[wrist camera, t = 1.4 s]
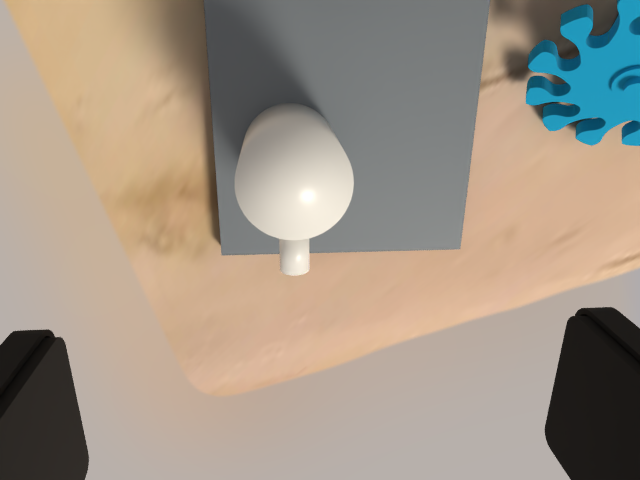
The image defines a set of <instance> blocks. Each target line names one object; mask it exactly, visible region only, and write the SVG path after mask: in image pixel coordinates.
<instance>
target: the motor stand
mask: <svg viewBox="0 0 640 480" xmlns="http://www.w3.org/2000/svg"><path fill="white" fill-rule="evenodd" d="M489 6H490V0H204V11H205V26H206V40H207V54H208V68H209V82H210V97H211V111H212V125H213V139H214V153H215V168H216V182H217V196H218V210H219V224H220V239H221V253H222V255H255V254H280V251H279V238H275V237H272V236H270V235H268V234H266V233H264V232H262V231H260V230H259V229H258V228H256V227H255V226H254V225H253V224H252V223H251V222H250V221H249V220H248V219H247V218H246V216H245V215H244V213H243V212H242V210H241V208H240V206H239V204H238V201H237V198H236V194H235V173H236V168H237V164H238V160H239V157H240V153H241V149H242V145H243V141H244V138H245V134H246V132H247V129H248V127H249V126H250V124H251V122H252V121H253V120H254V119H255V118H256V117H257V116H258V115H259V114H260V113H261V112H263V111H264V110H266V109H268V108H270V107H272V106H275V105H278V104H283V103H296V104H301V105H304V106H307V107H310V108H312V109H314V110H315V111H317V112H318V113H319V114H320V115H322V116H323V117H324V118H325V120H326V121H327V122H328V124H329V125H330V127H331V128H332V130H333V132H334V134H335V135H336V137H337V139H338V141H339V143H340V144H341V146H342V148H343V150H344V151H345V153H346V155H347V157H348V159H349V161H350V164H351V167H352V171H353V177H354V187H353V194H352V198H351V201H350V204H349V206H348V208H347V210H346V212H345V213H344V215H343V216H342V217H341V219H340V220H339V221H338V222H337V223H336V224H335V225H334V226H333V227H331V228H330V229H329V230H327V231H326V232H324V233H322V234H320V235H318V236H315V237H312V238H309V253H333V252H372V251H410V250H449V249H460V246H461V238H462V230H463V222H464V213H465V205H466V197H467V188H468V180H469V172H470V163H471V155H472V147H473V139H474V130H475V122H476V114H477V105H478V97H479V89H480V81H481V72H482V64H483V56H484V47H485V39H486V31H487V22H488V14H489Z"/></svg>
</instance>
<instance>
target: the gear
mask: <svg viewBox="0 0 640 480" xmlns="http://www.w3.org/2000/svg"><path fill="white" fill-rule="evenodd" d="M617 10H618V12H619V14H618V17H617V19H616V21H615V22H614V24H613V25H612V27H611V28H610V30H609V31H608V32H607V33H605V34H603V35H600V36H592V35H590V34H589V33H590V32H591V30H592V28H593V9H592V7H591V6H590V5H588V4H585V5H581V6H578V7H575V8H573V9H570V10H568V11H567V12H565V13H563V14H561V24H560V32H561V34H562V36H563V37H565V38H567V39H569V40H570V41H572V42H573V43H574V44H575V45H576V46H577V48H578V50H579V52H580V54H579V55H578V56H577V57H575V58H573V59H563V58H561V57H560V56H559V55H558V51H557V46H556V44H555V43H554V42H552V41H550V40H543V41H541V42H540V43H539V44H537V45H536V46H535V47H534V48H533V50H532V51H531V52H530V54H529V58H528V68H529V69H530V70H531V71H534V72H538V73H549V74H553V75H556V76H558V77H560V78H562V79H563V80H564V81H566V82H567V83H564V84H559V85H558V84H553V83H552V82H550V81H549V80H548V79H547V78H545V77H543V76H532V77H530V79H529V80H528V83H527V92H526V104H529V105H540V104H543V103H548V102H566V103H571V104H574V105H569V106H567V105H562V104H549V105H546V106H545V107H543V123H544V125H545V126H546V128H547V129H548V130H549V131H556V130H559V129H561V128H563V127H564V126H566V125H567V124H569V123H572V122H574V121H577V120H581V119H587V118H595V117H598V118H595V119H587V120H583V121H581V122H579V123H578V124H577V126H576V139H577V140H579V141H581V142H583V143H585V144H588V145H595V144H597V143H599V142H600V141H601V139H602V137H603V136H604V134H605V133H606V132H607V131H608V130H610V129H611V128H613V127H615V126H617V125H619V124H621V123H623V122H626V121H630V120H634V121H631V122H629V123H627V124H625V125H624V126H623V128H622V144H625V145H633V146H640V0H617Z"/></svg>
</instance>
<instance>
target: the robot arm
mask: <svg viewBox="0 0 640 480" xmlns="http://www.w3.org/2000/svg"><path fill="white" fill-rule="evenodd" d="M545 436H546V440H547V443H548V445H549V447H550V449H551V451H552V452H553V454H554V455H555V457H556V458H557V460H558V461H559V463H560V464H561V465H562V467H563V469H564V470H565V471H566V473H567V475H568V476H569V477H570V479H571V480H640V328H638V327H637V326H636V325H635V324H634V323H632V322H631V321H630V320H629V319H627V318H626V317H625V316H624V315H623V314H621V313H620V312H619V311H617V310H616V309H614V308H612V307H603V308H581V309H580V310H578V311H577V313H576V314H575V316H572V317H570V318H569V320H568V322H567V325H566V330H565V335H564V339H563V344H562V348H561V354H560V358H559V363H558V368H557V373H556V377H555V382H554V387H553V392H552V396H551V401H550V406H549V411H548V416H547V420H546V425H545ZM88 462H89V456H88V450H87V445H86V440H85V435H84V431H83V426H82V421H81V416H80V411H79V407H78V402H77V397H76V393H75V388H74V383H73V378H72V373H71V368H70V364H69V359H68V354H67V349H66V345H65V342H64V340H63V339H62V338H61V337H55V336H54V334H53V332H52V331H50V330H25V331H13V332H12V333H11V334H10V335H9V336H8V337H7V338H6V339H5V341H4V342H3V343H2V344H1V345H0V480H85V477H86V474H87V470H88Z"/></svg>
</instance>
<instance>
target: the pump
mask: <svg viewBox="0 0 640 480" xmlns="http://www.w3.org/2000/svg"><path fill="white" fill-rule="evenodd" d="M353 187H354V177H353V171H352V167H351V164H350V161H349V159H348V157H347V155H346V153H345V151H344V150H343V148H342V146H341V144H340V143H339V141H338V139H337V137H336V135H335V134H334V132H333V130H332V128H331V127H330V125H329V124H328V122H327V121H326V120H325V118H324V117H323V116H322V115H320V114H319V113H318V112H317V111H315V110H314V109H312V108H310V107H307V106H304V105H301V104H296V103H283V104H278V105H275V106H272V107H270V108H268V109H266V110H264V111H263V112H261V113H260V114H259V115H258V116H257V117H256V118H255V119H254V120H253V121H252V122H251V124H250V126H249V127H248V129H247V132H246V134H245V138H244V141H243V145H242V149H241V153H240V157H239V160H238V164H237V168H236V173H235V194H236V198H237V201H238V204H239V206H240V208H241V210H242V212H243V213H244V215H245V216H246V218H247V219H248V220H249V221H250V222H251V223H252V224H253V225H254V226H255V227H256V228H258V229H259V230H260V231H262V232H264V233H266V234H268V235H270V236H272V237H275V238H279V251H280V271H281V272H282V273H284V274H287V275H302V274H305V273H307V272H308V271H309V238H312V237H315V236H318V235H320V234H322V233H324V232H326V231H327V230H329V229H330V228H331V227H333V226H334V225H335V224H336V223H337V222H338V221H339V220H340V219H341V217H342V216H343V215H344V213H345V212H346V210H347V208H348V206H349V204H350V201H351V198H352V194H353Z"/></svg>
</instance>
